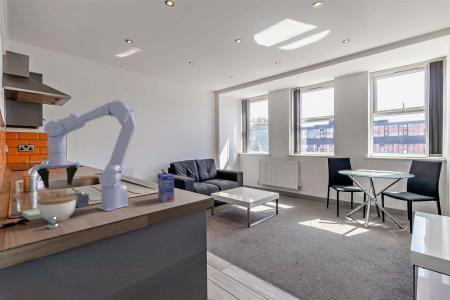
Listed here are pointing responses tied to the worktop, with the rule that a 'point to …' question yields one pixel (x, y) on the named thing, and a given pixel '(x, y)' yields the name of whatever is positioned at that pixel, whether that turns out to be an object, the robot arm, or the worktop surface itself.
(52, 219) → the bolt
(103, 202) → the robot arm
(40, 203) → the lidded jar
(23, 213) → the stand
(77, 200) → the housing
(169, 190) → the blue juice carton
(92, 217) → the worktop surface
